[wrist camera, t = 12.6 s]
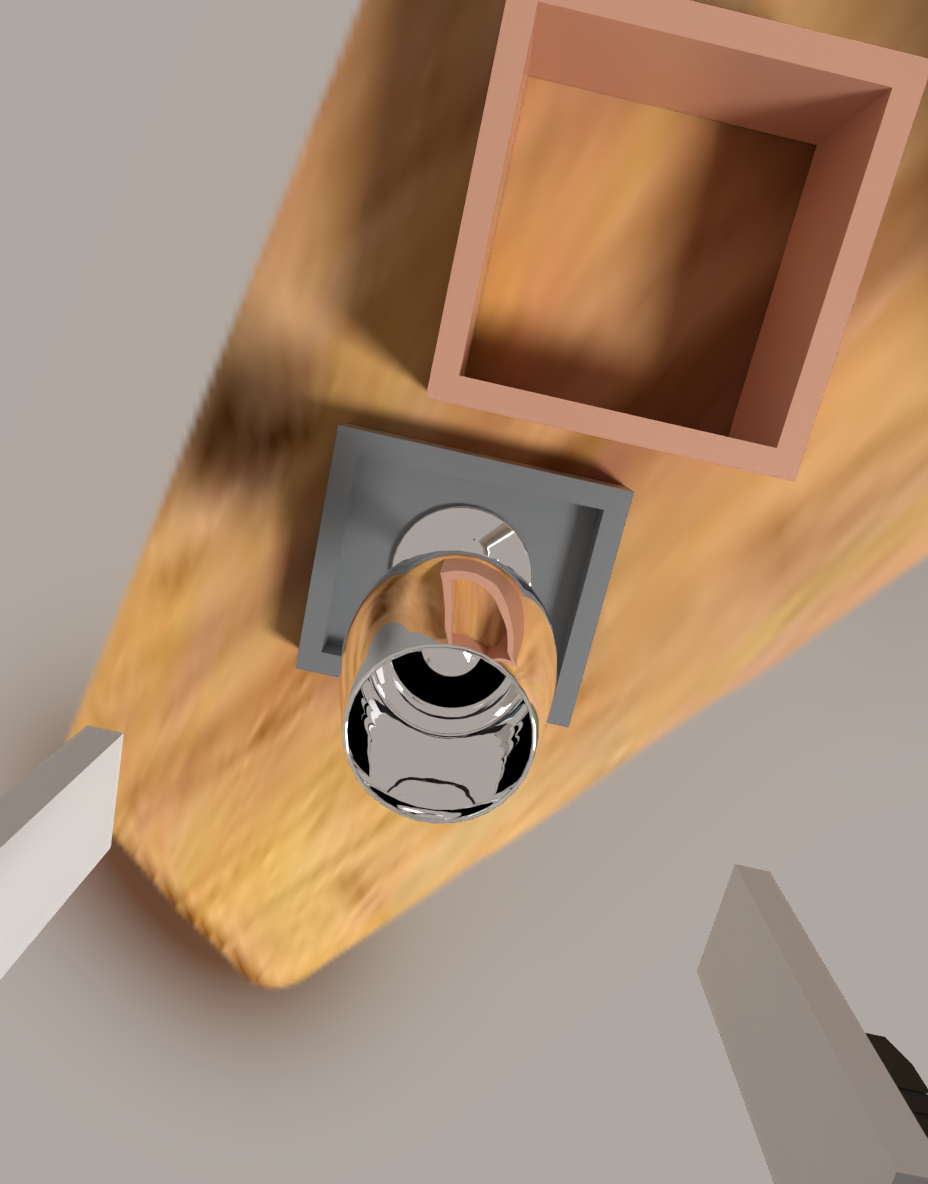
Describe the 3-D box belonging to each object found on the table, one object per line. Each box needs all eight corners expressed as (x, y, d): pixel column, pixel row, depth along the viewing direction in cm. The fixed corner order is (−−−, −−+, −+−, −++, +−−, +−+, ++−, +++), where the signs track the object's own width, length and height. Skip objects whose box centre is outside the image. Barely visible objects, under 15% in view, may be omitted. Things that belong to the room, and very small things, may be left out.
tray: (625, 486, 40) (633, 491, 38) (564, 709, 44) (568, 727, 41) (346, 423, 40) (337, 425, 38) (306, 652, 43) (295, 668, 41)
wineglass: (528, 650, 42) (564, 869, 22) (385, 639, 42) (298, 849, 23) (541, 508, 40) (593, 614, 20) (392, 497, 40) (303, 593, 21)
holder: (849, 122, 36) (934, 59, 29) (742, 467, 40) (794, 481, 33) (509, 41, 36) (514, -43, 29) (436, 397, 40) (425, 397, 33)
